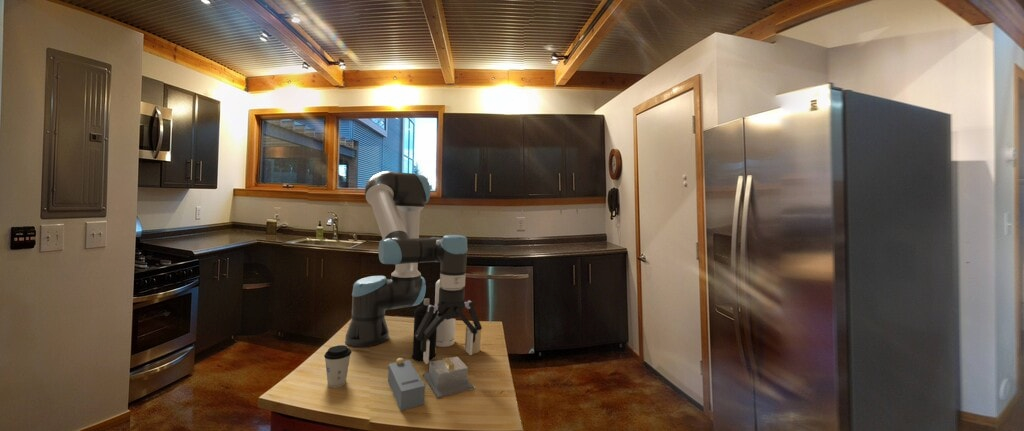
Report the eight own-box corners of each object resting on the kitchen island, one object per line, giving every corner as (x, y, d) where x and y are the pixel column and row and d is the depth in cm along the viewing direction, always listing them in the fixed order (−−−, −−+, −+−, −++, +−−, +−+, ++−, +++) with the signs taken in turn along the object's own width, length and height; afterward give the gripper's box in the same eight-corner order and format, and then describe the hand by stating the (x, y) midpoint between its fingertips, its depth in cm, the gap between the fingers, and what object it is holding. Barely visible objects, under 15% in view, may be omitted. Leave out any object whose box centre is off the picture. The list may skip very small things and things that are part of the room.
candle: (465, 347, 121) (466, 320, 121) (480, 347, 122) (481, 321, 122) (464, 353, 116) (465, 326, 116) (479, 354, 116) (481, 326, 116)
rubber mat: (422, 374, 100) (422, 373, 100) (456, 367, 106) (456, 365, 106) (437, 398, 88) (437, 396, 88) (474, 388, 94) (474, 386, 94)
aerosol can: (429, 363, 108) (432, 303, 107) (407, 359, 109) (409, 300, 109) (440, 352, 116) (442, 297, 115) (418, 349, 117) (421, 294, 117)
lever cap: (428, 376, 98) (429, 358, 98) (456, 370, 103) (457, 353, 103) (437, 390, 91) (438, 370, 91) (466, 382, 96) (467, 364, 96)
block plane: (387, 380, 96) (388, 360, 96) (408, 376, 99) (409, 356, 99) (400, 410, 82) (401, 386, 82) (424, 404, 85) (425, 381, 85)
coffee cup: (353, 376, 97) (355, 343, 97) (345, 389, 90) (347, 353, 90) (328, 377, 96) (329, 343, 96) (318, 390, 89) (320, 354, 89)
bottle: (431, 339, 126) (434, 268, 126) (451, 337, 130) (454, 267, 129) (435, 348, 119) (438, 272, 119) (456, 345, 123) (460, 271, 122)
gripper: (413, 294, 87) (409, 372, 88) (494, 286, 100) (490, 354, 101) (406, 287, 93) (402, 359, 94) (484, 281, 106) (480, 344, 107)
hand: (448, 357), depth 97 cm, fingers open, 13 cm apart
